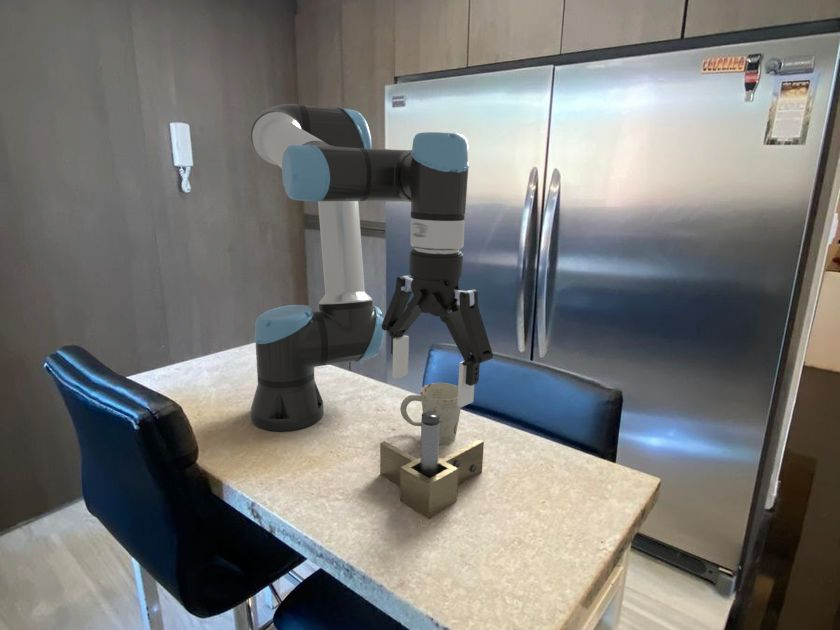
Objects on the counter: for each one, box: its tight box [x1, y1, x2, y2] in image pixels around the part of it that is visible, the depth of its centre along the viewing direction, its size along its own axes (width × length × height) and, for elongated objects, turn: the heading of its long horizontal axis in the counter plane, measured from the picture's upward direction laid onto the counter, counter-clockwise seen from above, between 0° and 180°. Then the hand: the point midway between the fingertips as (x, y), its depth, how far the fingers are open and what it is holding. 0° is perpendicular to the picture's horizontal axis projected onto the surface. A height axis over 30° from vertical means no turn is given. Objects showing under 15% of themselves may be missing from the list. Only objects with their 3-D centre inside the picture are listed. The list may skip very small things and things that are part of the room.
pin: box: [420, 411, 440, 478], centre depth 81 cm, size 3×3×15 cm
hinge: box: [379, 439, 485, 520], centre depth 88 cm, size 14×16×6 cm
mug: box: [399, 382, 462, 445], centre depth 103 cm, size 8×13×10 cm, turn 78°
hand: (430, 389), depth 78 cm, fingers open, 13 cm apart
